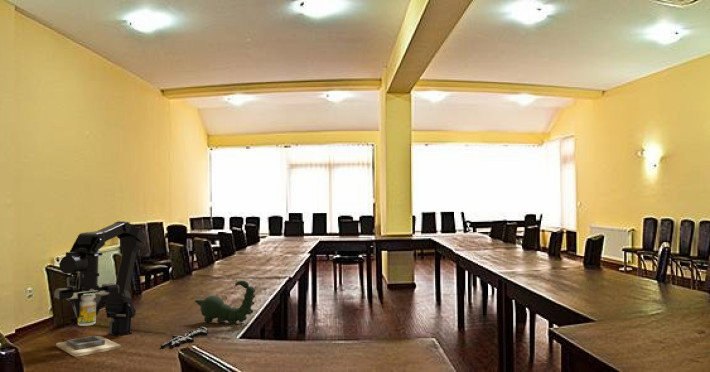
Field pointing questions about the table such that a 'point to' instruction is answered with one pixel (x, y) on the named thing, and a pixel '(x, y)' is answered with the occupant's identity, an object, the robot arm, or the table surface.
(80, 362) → the table surface
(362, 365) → the table surface
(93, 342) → the collar board
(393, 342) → the table surface
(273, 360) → the table surface
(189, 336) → the toy rifle
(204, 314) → the toy figurine
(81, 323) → the supplement bottle
